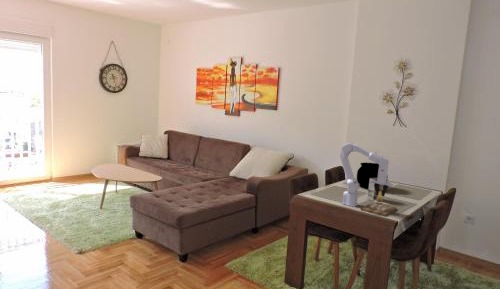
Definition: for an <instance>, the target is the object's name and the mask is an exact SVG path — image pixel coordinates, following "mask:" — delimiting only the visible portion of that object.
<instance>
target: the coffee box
mask: <svg viewBox="0 0 500 289" xmlns="http://www.w3.org/2000/svg"><path fill="white" fill-rule="evenodd" d="M371 180H376V181H377V180H378V178H370V181H369V189H367V190H368V191H367V199H368V200H369V201H371V202H373V201H375V200H376V201H377V197H378V195H376V190H375V187H374V185H375V184H374V183H371ZM383 186H384V185H380V187H379V189H381V190H383Z"/></svg>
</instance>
